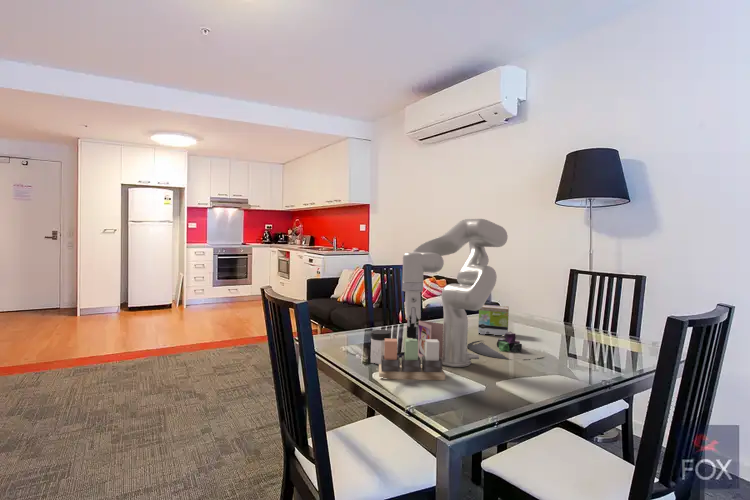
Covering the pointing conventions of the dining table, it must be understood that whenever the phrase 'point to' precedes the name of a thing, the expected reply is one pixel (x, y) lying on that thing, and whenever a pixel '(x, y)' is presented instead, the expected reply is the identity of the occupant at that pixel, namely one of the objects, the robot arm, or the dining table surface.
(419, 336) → the greeting card
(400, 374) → the base
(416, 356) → the pale green upright block
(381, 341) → the jar
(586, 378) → the dining table surface
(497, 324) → the tea box
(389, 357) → the pink upright block
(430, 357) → the grey button
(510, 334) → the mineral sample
